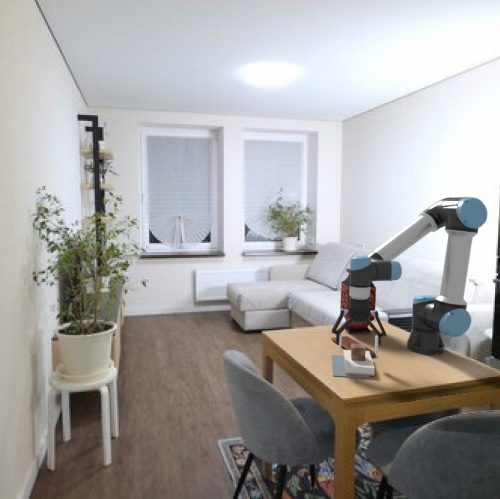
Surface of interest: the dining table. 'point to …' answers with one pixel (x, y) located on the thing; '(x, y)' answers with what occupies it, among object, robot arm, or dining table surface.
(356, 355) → the walnut block
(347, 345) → the wooden tablet
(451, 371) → the dining table surface
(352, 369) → the tile
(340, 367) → the felt mat
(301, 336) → the dining table surface
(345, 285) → the vase
